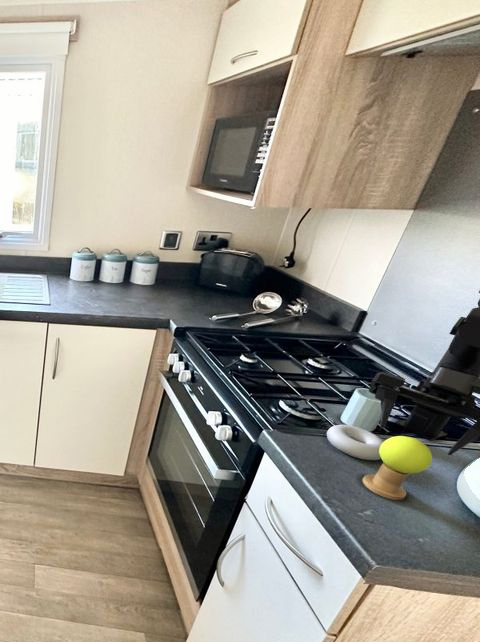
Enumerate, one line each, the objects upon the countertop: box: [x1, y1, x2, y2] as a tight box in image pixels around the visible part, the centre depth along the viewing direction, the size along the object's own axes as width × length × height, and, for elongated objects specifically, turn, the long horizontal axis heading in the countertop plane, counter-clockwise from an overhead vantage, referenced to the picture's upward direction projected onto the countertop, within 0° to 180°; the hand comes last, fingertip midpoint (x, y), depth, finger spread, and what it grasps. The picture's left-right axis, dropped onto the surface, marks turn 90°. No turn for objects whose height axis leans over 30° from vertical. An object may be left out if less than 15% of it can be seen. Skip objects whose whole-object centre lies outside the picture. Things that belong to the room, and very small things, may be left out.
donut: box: [326, 424, 385, 461], centre depth 88 cm, size 10×4×10 cm
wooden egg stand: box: [362, 462, 410, 501], centre depth 77 cm, size 6×6×5 cm
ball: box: [379, 435, 433, 474], centre depth 75 cm, size 7×7×7 cm
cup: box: [340, 387, 382, 432], centre depth 96 cm, size 6×6×8 cm
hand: (414, 440), depth 76 cm, fingers open, 9 cm apart
